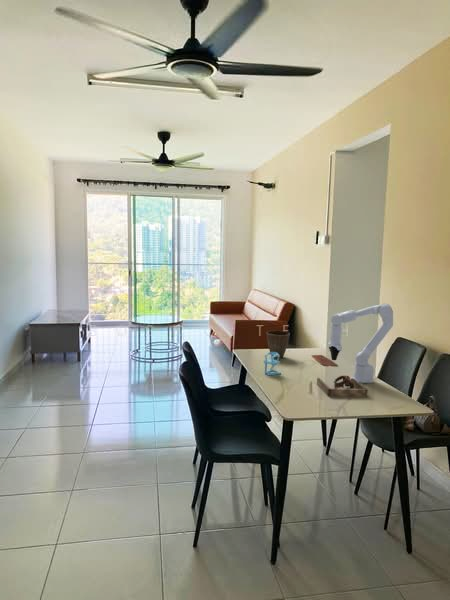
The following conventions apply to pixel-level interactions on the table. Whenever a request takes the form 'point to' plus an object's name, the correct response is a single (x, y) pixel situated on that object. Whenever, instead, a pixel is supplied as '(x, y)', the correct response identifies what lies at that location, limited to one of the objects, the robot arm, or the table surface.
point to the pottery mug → (344, 382)
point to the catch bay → (344, 390)
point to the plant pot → (278, 342)
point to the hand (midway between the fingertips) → (333, 359)
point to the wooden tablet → (324, 360)
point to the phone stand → (272, 362)
